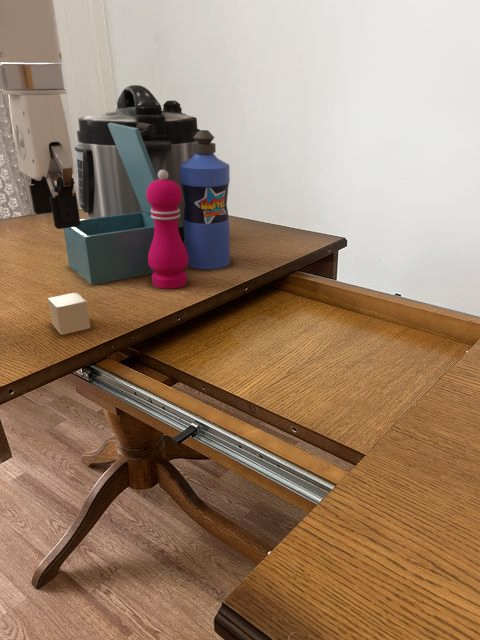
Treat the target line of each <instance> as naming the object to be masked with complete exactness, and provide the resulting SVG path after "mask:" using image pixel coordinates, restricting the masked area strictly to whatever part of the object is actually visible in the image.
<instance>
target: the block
mask: <svg viewBox="0 0 480 640" xmlns="http://www.w3.org/2000/svg"><path fill="white" fill-rule="evenodd" d="M47 302H48V307H49V314H50V319H51V324H52V326H53V327H54V328H55V330H56V331H57V332H58V333H59V334H60V336H64V335H68V334H73V333H76V332H77V333H78V332H81V331H85V330H89V329H91V322H90V321H91V320H90V316H89V315H90V314H89V307H88V301H87V300H86V299H85V298H83V297H82V296H81V294H79V293H78V292H72V293H66V294H60V295H57V296H51V297H47Z"/></svg>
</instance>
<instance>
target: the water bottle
mask: <svg viewBox="0 0 480 640" xmlns="http://www.w3.org/2000/svg"><path fill="white" fill-rule="evenodd" d="M193 138H194V139H195V140H196V141H197V143H193V152H194V153H195V154H194V155H193V157H192V158H191V159H189V160H187V161H185V162H184V163H182V164H180V180H181V183H182V189H183V195H184V202H185V208H184V219H183V224H184V238H183V244H184V246H185V248H186V250H187V253H188V259H189V263H188V265H187V267H190V268H193V269H196V270H197V269H198V270H215V269H222V268H225V267H227V266H228V265H229V264H230V262H231V259H230V257H231V256H230V251H231V249H230V243H231V242H230V215H229V210H228V196H229V185H230V179H231V178H230V175H231V174H230V164H229V163H227V162H225V161H223V160H222V159H220V158H218V157H217V155H216V154H215V153H216V152H217V150H216V149H217V148H216V147H217V146H216V143H215V142H213V141H214V139H215V136H214V135H213V133H211V132H210V131H209V130H208V129H207V130H206V129H200V130H199V131H198V132H197V133H196V135H195V136H194V137H193Z"/></svg>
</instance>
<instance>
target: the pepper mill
mask: <svg viewBox="0 0 480 640" xmlns="http://www.w3.org/2000/svg"><path fill="white" fill-rule="evenodd" d="M158 178H159V180H155V181H153V182H152V183H151V184H150V185H149V186H148V188H147V192H146V197H147V201H148V202H149V204H150V205H151V206H152V209H151V210H150V211H151V217H152V218H153V219H154V225H155V227H154V238H153V241H152V244H151V247H150V250H149V254H148V264H149V266H150V268H151V269H152V270H153V271H154V273H151V282H152V285H153V286H154V287H155V288H158V289H163V290H164V289H165V290H170V289H173V290H174V289H178V288H182V287H184V286H186V285H187V283H188V273H187V272H186V271H185V269H186V268H187V267H188V263H189V259H188V253H187V250H186V248H185V246H184V241H183V240H182V238H181V237H180V234H179V230H178V218H179V217H180V214H179V212H180V209H179V208H178V205H179V204H180V202H181V201H182V191H181V188H180V187H179V185H178V184H177V183H176V182H174V181H172V180H169V179H168V172H167V171H166V170H160V171H159V172H158Z"/></svg>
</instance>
